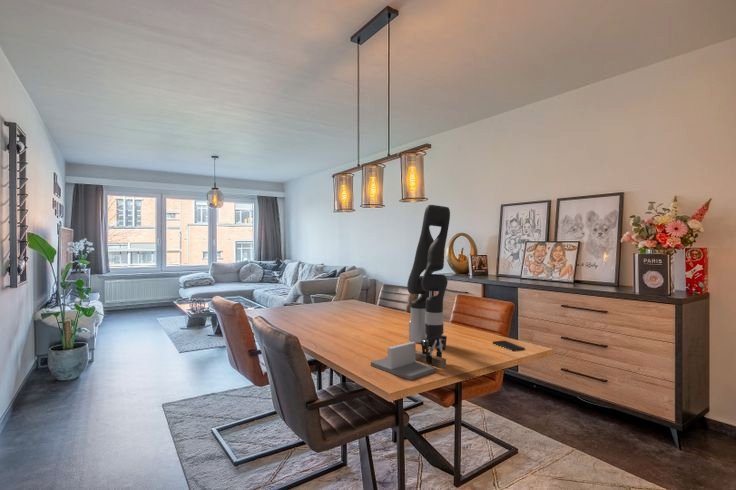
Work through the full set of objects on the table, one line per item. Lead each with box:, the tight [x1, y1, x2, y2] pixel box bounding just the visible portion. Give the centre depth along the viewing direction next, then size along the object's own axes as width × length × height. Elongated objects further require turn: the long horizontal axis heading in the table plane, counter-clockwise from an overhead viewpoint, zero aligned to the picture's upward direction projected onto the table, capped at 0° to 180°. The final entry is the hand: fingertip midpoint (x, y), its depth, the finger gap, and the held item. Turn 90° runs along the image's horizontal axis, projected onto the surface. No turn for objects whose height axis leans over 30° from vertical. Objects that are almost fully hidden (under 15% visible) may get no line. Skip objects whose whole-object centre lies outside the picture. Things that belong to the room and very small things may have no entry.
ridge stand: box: [370, 341, 436, 381], centre depth 156 cm, size 22×14×10 cm, turn 41°
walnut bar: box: [416, 350, 447, 369], centre depth 166 cm, size 20×3×4 cm, turn 41°
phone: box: [492, 340, 526, 352], centre depth 190 cm, size 8×1×15 cm
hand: (434, 362), depth 162 cm, fingers open, 5 cm apart
